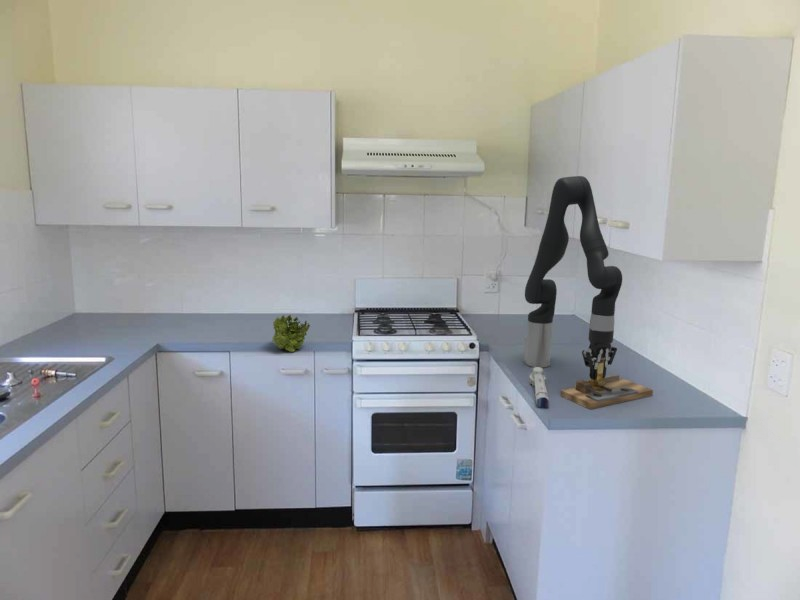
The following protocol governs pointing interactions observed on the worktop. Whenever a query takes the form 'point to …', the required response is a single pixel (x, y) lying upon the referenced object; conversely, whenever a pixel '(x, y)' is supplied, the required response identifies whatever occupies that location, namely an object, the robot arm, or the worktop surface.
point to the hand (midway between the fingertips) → (597, 378)
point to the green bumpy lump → (289, 333)
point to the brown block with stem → (585, 387)
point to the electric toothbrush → (539, 387)
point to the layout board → (608, 393)
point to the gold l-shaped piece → (599, 379)
